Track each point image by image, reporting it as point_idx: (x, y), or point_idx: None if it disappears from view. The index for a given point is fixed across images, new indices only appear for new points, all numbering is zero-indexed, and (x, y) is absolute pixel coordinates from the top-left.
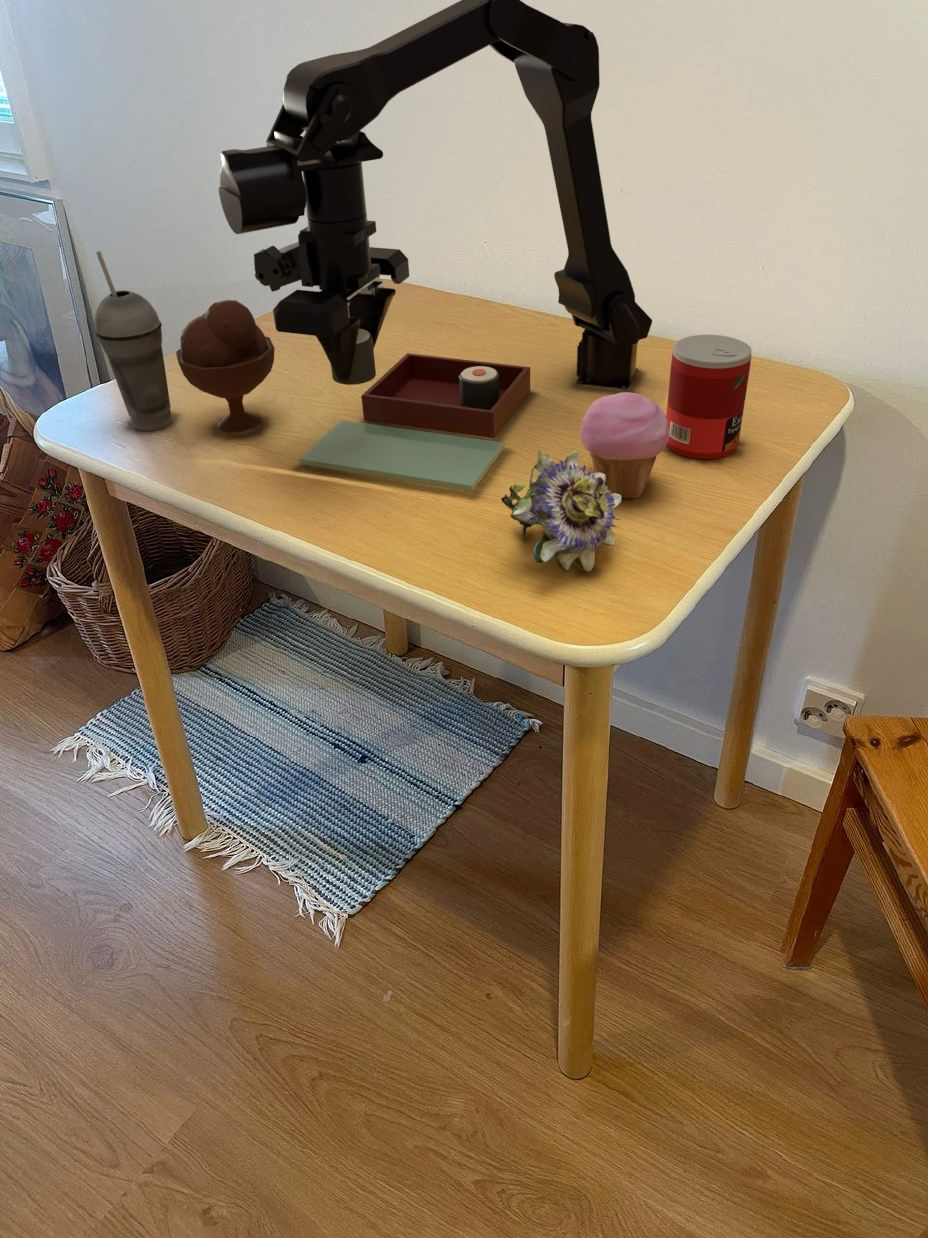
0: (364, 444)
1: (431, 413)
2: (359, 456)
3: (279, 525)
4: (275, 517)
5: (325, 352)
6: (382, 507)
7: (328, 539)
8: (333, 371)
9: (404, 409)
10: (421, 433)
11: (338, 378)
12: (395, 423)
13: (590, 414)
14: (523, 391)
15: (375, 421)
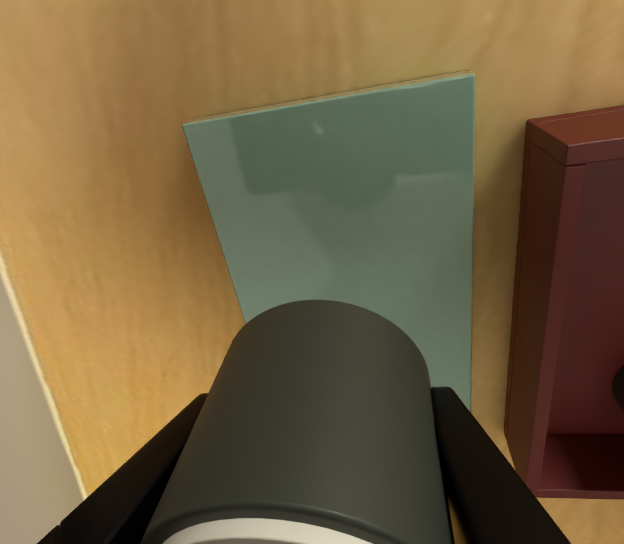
0: (343, 243)
1: (528, 360)
2: (280, 266)
3: (7, 234)
4: (15, 209)
5: (63, 522)
6: (183, 359)
7: (52, 331)
8: (217, 374)
9: (536, 290)
10: (457, 336)
11: (200, 397)
12: (523, 234)
13: None
14: None
15: (528, 166)
